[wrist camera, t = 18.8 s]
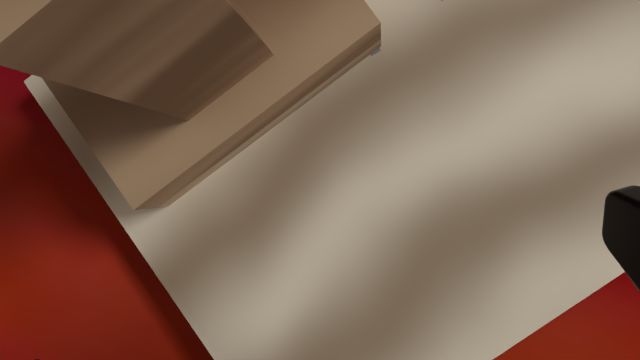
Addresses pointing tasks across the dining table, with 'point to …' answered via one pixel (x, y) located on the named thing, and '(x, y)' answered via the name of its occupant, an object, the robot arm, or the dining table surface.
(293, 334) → the birch board
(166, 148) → the block
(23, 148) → the dining table surface
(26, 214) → the dining table surface
